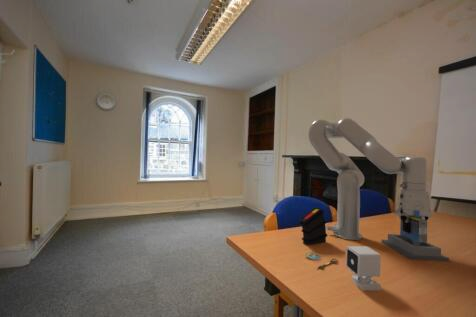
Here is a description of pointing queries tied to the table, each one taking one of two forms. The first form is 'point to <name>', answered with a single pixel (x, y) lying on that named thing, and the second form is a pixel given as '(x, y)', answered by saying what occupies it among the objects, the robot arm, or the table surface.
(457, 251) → the table surface
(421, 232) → the label tape box
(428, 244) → the slot holder
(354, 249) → the security camera
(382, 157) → the robot arm
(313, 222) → the black ridged block
